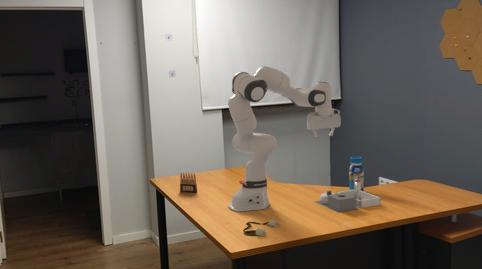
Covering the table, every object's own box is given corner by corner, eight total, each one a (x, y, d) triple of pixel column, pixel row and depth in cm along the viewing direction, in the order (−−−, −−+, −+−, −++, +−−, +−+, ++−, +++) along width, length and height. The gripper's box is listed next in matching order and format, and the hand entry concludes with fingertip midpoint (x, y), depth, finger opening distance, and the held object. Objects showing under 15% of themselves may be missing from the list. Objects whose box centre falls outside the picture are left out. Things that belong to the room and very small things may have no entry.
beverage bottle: (352, 188, 277) (352, 155, 274) (366, 190, 272) (366, 156, 269) (346, 192, 270) (346, 158, 267) (360, 193, 265) (360, 159, 262)
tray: (360, 210, 235) (360, 201, 234) (336, 201, 253) (336, 192, 252) (380, 207, 240) (380, 197, 239) (356, 197, 258) (356, 189, 257)
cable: (233, 233, 210) (233, 226, 210) (249, 222, 225) (249, 215, 224) (264, 238, 203) (264, 230, 203) (279, 226, 217) (279, 219, 217)
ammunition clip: (180, 192, 284) (179, 172, 282) (181, 191, 285) (180, 172, 284) (196, 193, 280) (195, 173, 279) (197, 192, 282) (196, 172, 280)
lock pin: (358, 203, 244) (357, 179, 242) (355, 202, 246) (354, 179, 245) (362, 202, 244) (361, 179, 243) (359, 201, 247) (358, 178, 246)
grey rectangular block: (338, 215, 228) (338, 200, 227) (314, 204, 248) (314, 190, 247) (358, 211, 233) (358, 197, 232) (333, 201, 253) (333, 187, 252)
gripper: (310, 113, 249) (310, 139, 251) (342, 110, 257) (342, 135, 259) (304, 112, 255) (304, 137, 256) (335, 109, 263) (335, 134, 265)
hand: (323, 136), depth 258 cm, fingers open, 8 cm apart
